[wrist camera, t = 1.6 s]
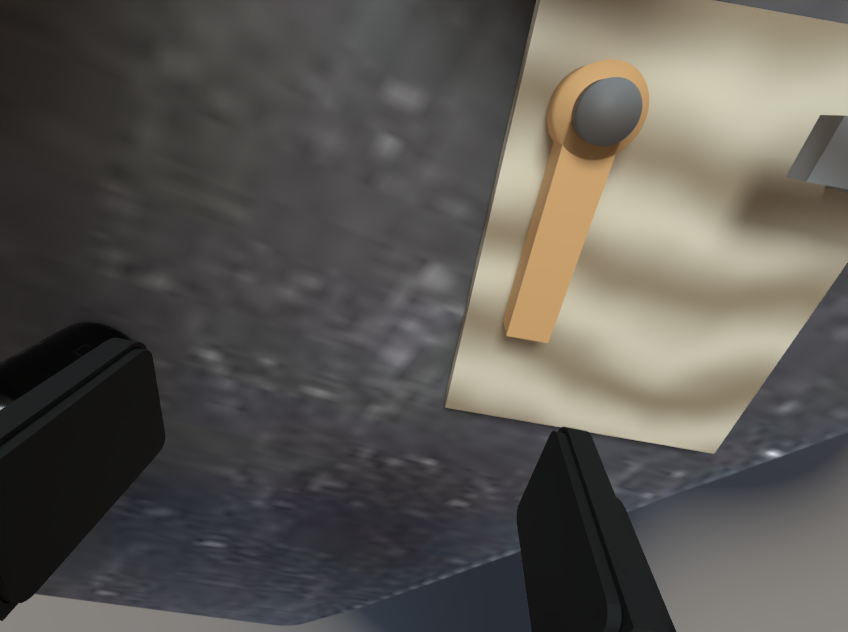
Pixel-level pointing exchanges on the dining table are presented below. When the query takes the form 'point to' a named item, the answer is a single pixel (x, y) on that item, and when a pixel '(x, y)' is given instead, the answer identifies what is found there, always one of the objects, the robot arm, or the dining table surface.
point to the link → (564, 205)
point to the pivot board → (667, 218)
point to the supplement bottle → (50, 358)
